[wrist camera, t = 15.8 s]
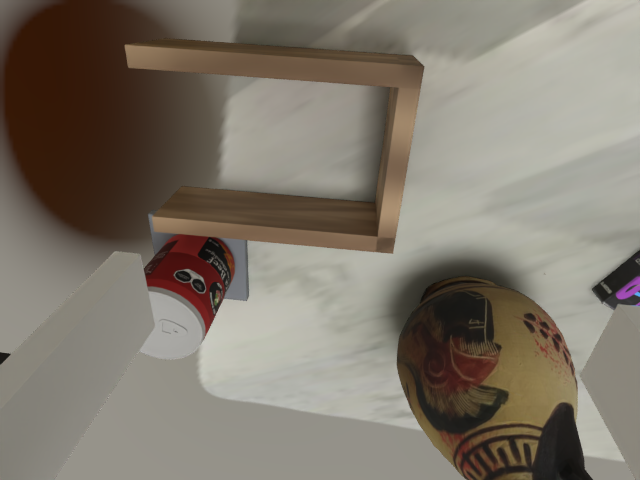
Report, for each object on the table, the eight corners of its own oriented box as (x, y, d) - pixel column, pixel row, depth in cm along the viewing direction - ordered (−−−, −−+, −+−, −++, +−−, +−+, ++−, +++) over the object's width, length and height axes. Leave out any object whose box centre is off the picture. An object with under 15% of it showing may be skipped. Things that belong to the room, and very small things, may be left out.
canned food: (241, 289, 47) (209, 362, 37) (172, 287, 47) (124, 358, 38) (232, 228, 43) (194, 292, 33) (157, 227, 44) (99, 289, 34)
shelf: (165, 38, 35) (124, 45, 29) (412, 55, 35) (424, 66, 28) (183, 199, 43) (154, 231, 37) (387, 217, 42) (392, 253, 36)
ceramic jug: (419, 375, 52) (479, 742, 26) (371, 281, 46) (387, 642, 20) (563, 336, 47) (811, 739, 21) (531, 226, 41) (828, 606, 15)
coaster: (152, 209, 44) (148, 214, 43) (246, 218, 43) (243, 222, 42) (164, 287, 49) (160, 292, 48) (248, 295, 48) (246, 300, 47)
